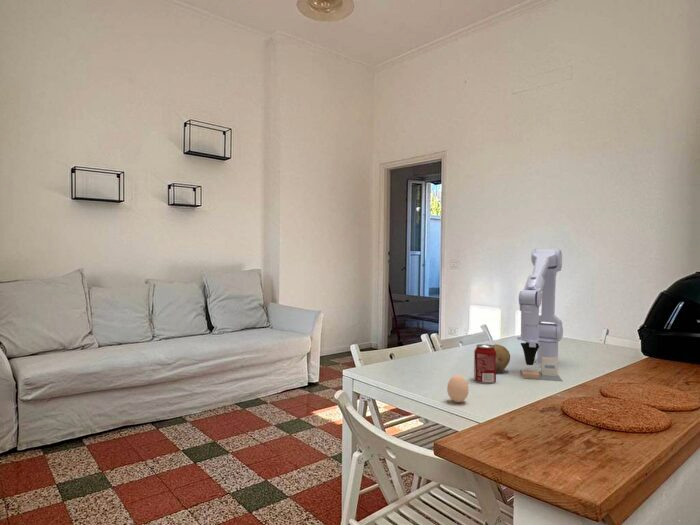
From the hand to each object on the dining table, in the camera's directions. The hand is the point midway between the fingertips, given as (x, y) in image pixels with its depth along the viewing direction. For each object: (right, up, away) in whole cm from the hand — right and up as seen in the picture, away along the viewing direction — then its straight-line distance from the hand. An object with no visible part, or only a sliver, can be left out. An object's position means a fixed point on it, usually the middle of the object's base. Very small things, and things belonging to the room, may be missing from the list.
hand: (529, 364), depth 156 cm
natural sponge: (-10, -4, +5) cm, 12 cm away
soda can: (-18, -4, -8) cm, 20 cm away
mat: (+3, -4, -1) cm, 5 cm away
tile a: (0, -3, +1) cm, 3 cm away
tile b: (+7, -4, 0) cm, 8 cm away
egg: (-31, -4, -29) cm, 43 cm away
